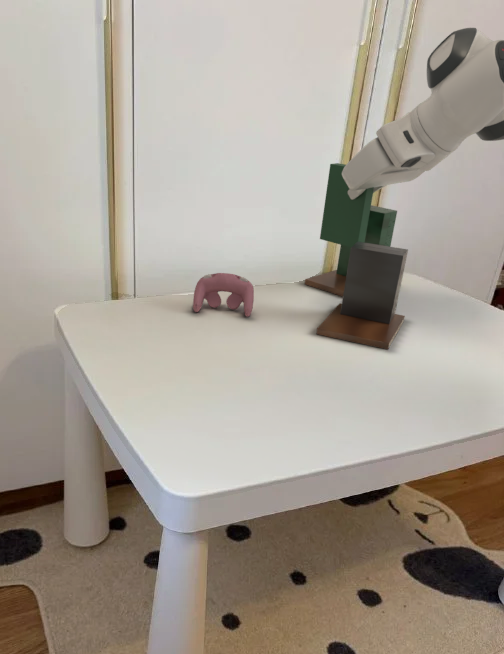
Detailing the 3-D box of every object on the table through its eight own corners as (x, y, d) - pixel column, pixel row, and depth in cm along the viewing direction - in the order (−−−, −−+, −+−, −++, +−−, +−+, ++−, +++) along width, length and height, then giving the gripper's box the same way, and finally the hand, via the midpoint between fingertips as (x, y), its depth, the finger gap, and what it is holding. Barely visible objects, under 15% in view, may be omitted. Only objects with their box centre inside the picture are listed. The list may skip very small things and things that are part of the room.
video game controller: (252, 319, 106) (256, 277, 106) (251, 316, 101) (256, 272, 101) (193, 314, 107) (197, 272, 106) (190, 311, 102) (195, 267, 102)
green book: (363, 247, 112) (377, 170, 106) (356, 249, 110) (370, 170, 104) (326, 237, 117) (337, 163, 110) (319, 239, 115) (330, 163, 109)
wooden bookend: (403, 321, 104) (419, 249, 99) (387, 349, 94) (404, 270, 88) (338, 308, 108) (349, 238, 103) (316, 334, 97) (327, 257, 92)
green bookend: (393, 286, 121) (407, 211, 115) (353, 300, 113) (367, 220, 106) (345, 271, 128) (356, 200, 121) (304, 284, 119) (314, 208, 113)
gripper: (442, 121, 105) (380, 174, 115) (376, 125, 92) (313, 184, 102) (461, 154, 104) (397, 204, 115) (398, 161, 91) (332, 217, 102)
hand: (357, 194), depth 108 cm, fingers closed on green book, 2 cm apart
